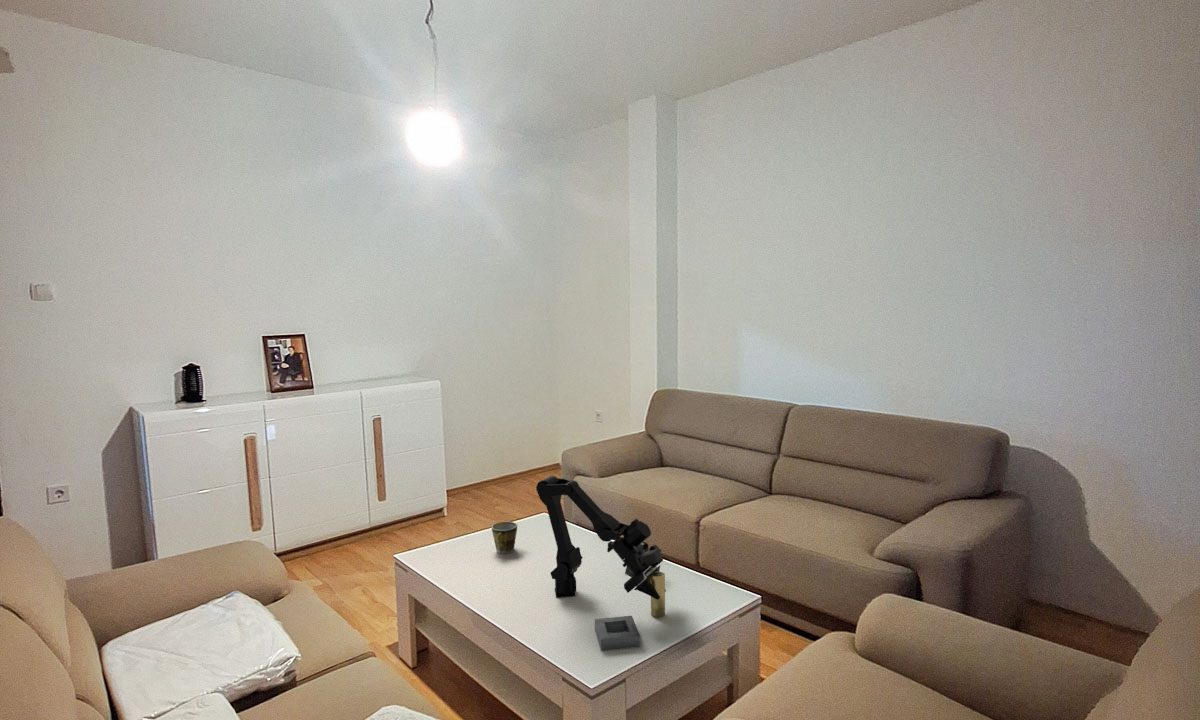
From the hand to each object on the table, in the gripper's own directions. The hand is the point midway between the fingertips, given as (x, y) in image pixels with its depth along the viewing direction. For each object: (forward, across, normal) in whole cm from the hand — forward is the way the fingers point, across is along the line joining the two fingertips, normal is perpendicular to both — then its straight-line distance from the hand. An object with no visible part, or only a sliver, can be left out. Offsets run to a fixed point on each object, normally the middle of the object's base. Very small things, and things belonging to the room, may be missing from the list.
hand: (662, 595), depth 192 cm
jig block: (0, -18, +9) cm, 20 cm away
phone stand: (-8, +24, +18) cm, 32 cm away
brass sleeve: (+4, 0, +6) cm, 7 cm away
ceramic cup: (-48, +19, +58) cm, 77 cm away
